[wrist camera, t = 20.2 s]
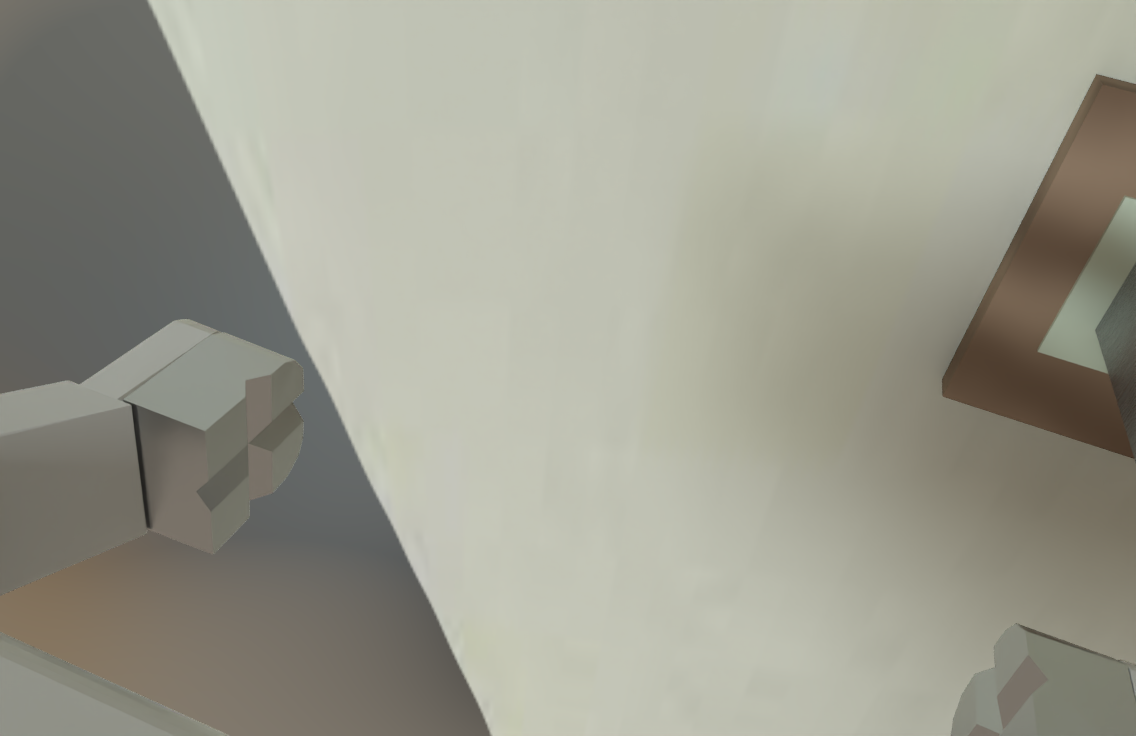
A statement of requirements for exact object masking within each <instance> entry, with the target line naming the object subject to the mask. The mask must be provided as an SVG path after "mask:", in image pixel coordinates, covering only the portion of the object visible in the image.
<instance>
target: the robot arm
mask: <svg viewBox="0 0 1136 736" xmlns="http://www.w3.org/2000/svg"><path fill="white" fill-rule="evenodd" d="M303 380H304V379H303V368H302V366H301V365H299V363H297V361H296V360H293V359H291V358H288V357H286V356H283V355H281V354H278V353H275V352H273V351H270V350H268V349H265V348H263V347H260V346H258V345H255V344H252V343H250V342H247V341H245V340H242V339H240V338H237V337H234V336H232V335H229V334H227V333H221V332H219V331H217V330H215V329H212V328H210V327H207V326H205V325H202V324H199V323H196V322H194V321H192V320H189V319H183V320H175V321H173V322H171V323H170V324H168V325H167V326H166V327H164V328H163V329H161V330H160V331H158V332H157V333H155V334H154V335H152V336H151V337H149V338H148V339H147V340H145V341H143V342H142V343H140V344H139V345H138V346H136V347H135V348H133V349H132V350H130V351H129V352H127V353H126V354H124V355H123V356H121V357H120V358H118V359H117V360H115V361H114V362H113V363H111V364H109V365H108V366H106V367H105V368H104V369H102V370H101V371H99V372H98V373H96V374H95V375H93V376H92V377H90V378H89V379H88V380H86V381H84V382H83V383H81V384H80V385H79V384H76V383H74V382H71V381H63V382H58V383H53V384H48V385H43V386H38V387H33V388H28V389H23V390H18V391H13V392H8V393H3V394H0V595H3V594H5V593H8V592H10V591H12V590H14V589H17V588H19V587H22V586H24V585H26V584H29V583H31V582H33V581H36V580H38V579H41V578H43V577H45V576H47V575H50V574H53V573H55V572H57V571H60V570H62V569H64V568H67V567H69V566H72V565H74V564H76V563H79V562H81V561H83V560H86V559H88V558H91V557H93V556H95V555H97V554H100V553H102V552H105V551H107V550H109V549H112V548H114V547H117V546H119V545H121V544H124V543H126V542H129V541H131V540H133V539H136V538H138V537H140V536H143V535H145V534H147V530H150V531H153V532H155V533H158V534H160V535H163V536H166V537H168V538H171V539H174V540H176V541H179V542H182V543H184V544H187V545H190V546H192V547H195V548H197V549H200V550H203V551H205V552H208V553H210V554H213V555H214V554H215V553H216V552H217V550H218V549H219V548H220V547H221V546H222V545H223V544H224V543H225V542H226V541H227V540H228V539H229V538H230V537H231V536H232V535H233V534H234V533H235V532H236V531H237V530H238V529H239V527H241V526H242V524H243V523H244V522H245V521H246V520H247V519H248V518H249V517H250V516H249V500H252V499H256V498H259V497H262V496H265V495H268V494H271V493H273V492H274V491H275V490H276V489H277V488H278V487H279V485H280V484H281V483H282V482H283V481H284V480H285V479H286V478H287V476H288V474H289V473H290V471H291V469H292V467H293V465H294V463H295V461H296V459H297V457H298V456H299V452H300V447H301V444H302V439H303V422H304V421H303V419H302V418H301V416H300V414H299V412H298V411H297V409H296V407H295V405H294V404H293V401H294V400H295V399H296V398H297V397H298V396H299V395H300V394H301V393H302V392H303V391H304V381H303ZM994 660H995V668H992V669H989V670H985V671H982V672H979V673H976V674H974V676H973V678H972V679H971V681H970V682H969V684H968V685H967V687H966V689H965V690H964V692H963V693H962V695H961V698H960V701H959V704H958V707H957V710H956V712H955V715H954V718H953V724H952V731H951V736H1136V665H1135V664H1132V663H1129V662H1126V661H1123V660H1116V659H1114V658H1112V657H1109V656H1106V655H1103V654H1100V653H1098V652H1095V651H1092V650H1089V649H1086V648H1084V647H1081V646H1078V645H1075V644H1072V643H1070V642H1067V641H1064V640H1061V639H1058V638H1056V637H1053V636H1050V635H1047V634H1044V633H1042V632H1039V631H1036V630H1033V629H1030V628H1028V627H1025V626H1022V625H1019V624H1017V623H1015V624H1014V625H1013V626H1011V627H1010V628H1008V629H1007V630H1005V632H1004V633H1003V634H1002V636H1001V637H1000V639H999V640H998V641H997V643H996V644H995V646H994ZM0 736H230V735H228V734H225V733H223V732H221V731H218V730H217V729H214V728H212V727H210V726H208V725H205V724H203V723H200V722H199V721H196V720H194V719H192V718H190V717H188V716H186V715H183V714H181V713H179V712H177V711H174V710H172V709H170V708H168V707H166V706H163V705H161V704H159V703H157V702H154V701H152V700H150V699H148V698H145V697H143V696H141V695H139V694H137V693H135V692H132V691H130V690H128V689H126V688H123V687H121V686H119V685H117V684H115V683H112V682H110V681H108V680H106V679H103V678H101V677H99V676H97V675H95V674H92V673H90V672H88V671H86V670H83V669H81V668H79V667H77V666H75V665H72V664H70V663H68V662H66V661H64V660H61V659H59V658H57V657H55V656H53V655H50V654H48V653H46V652H43V651H41V650H39V649H37V648H35V647H33V646H30V645H28V644H26V643H24V642H21V641H19V640H17V639H15V638H13V637H10V636H8V635H6V634H4V633H2V632H0Z"/></svg>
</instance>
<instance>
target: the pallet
mask: <svg viewBox="0 0 1136 736" xmlns="http://www.w3.org/2000/svg"><path fill="white" fill-rule="evenodd" d="M1135 263H1136V84H1132V83H1128V82H1124V81H1121V80H1117V79H1113V78H1109V77H1105V76H1101V75H1097V74H1096V76H1095V78H1094V80H1093V82H1092V84H1091V86H1090V88H1089V90H1088V92H1087V94H1086V96H1085V98H1084V100H1083V102H1082V104H1081V106H1080V108H1079V110H1078V112H1077V114H1076V116H1075V118H1074V120H1073V122H1072V124H1071V126H1070V128H1069V130H1068V132H1067V134H1066V136H1065V138H1064V140H1063V142H1062V143H1061V145H1060V147H1059V149H1058V151H1057V153H1056V155H1055V157H1054V159H1053V161H1052V163H1051V165H1050V167H1049V169H1048V171H1047V173H1046V175H1045V177H1044V179H1043V181H1042V183H1041V185H1040V187H1039V189H1038V191H1037V193H1036V195H1035V197H1034V199H1033V201H1032V203H1031V205H1030V207H1029V209H1028V211H1027V213H1026V215H1025V217H1024V219H1023V221H1022V222H1021V224H1020V226H1019V228H1018V230H1017V232H1016V234H1015V236H1014V238H1013V240H1012V242H1011V244H1010V246H1009V248H1008V250H1007V252H1006V254H1005V256H1004V258H1003V260H1002V262H1001V264H1000V266H999V268H998V270H997V272H996V274H995V276H994V278H993V280H992V282H991V284H990V286H989V288H988V290H987V292H986V294H985V296H984V298H983V300H982V302H981V303H980V305H979V307H978V309H977V311H976V313H975V315H974V317H973V319H972V321H971V323H970V325H969V327H968V329H967V331H966V333H965V335H964V337H963V339H962V341H961V343H960V345H959V347H958V349H957V351H956V353H955V355H954V357H953V359H952V361H951V363H950V365H949V367H948V369H947V371H946V373H945V375H944V377H943V379H942V393H943V397H946V398H949V399H952V400H955V401H958V402H961V403H964V404H968V405H971V406H974V407H977V408H980V409H983V410H986V411H989V412H992V413H995V414H998V415H1001V416H1004V417H1008V418H1011V419H1014V420H1017V421H1020V422H1023V423H1026V424H1029V425H1032V426H1035V427H1038V428H1041V429H1044V430H1048V431H1051V432H1054V433H1057V434H1060V435H1063V436H1066V437H1069V438H1072V439H1075V440H1078V441H1081V442H1084V443H1088V444H1091V445H1094V446H1097V447H1100V448H1103V449H1106V450H1109V451H1112V452H1115V453H1118V454H1121V455H1124V456H1128V457H1131V458H1134V456H1133V452H1132V449H1131V446H1130V443H1129V439H1128V436H1127V433H1126V430H1125V426H1124V423H1123V420H1122V416H1121V413H1120V410H1119V407H1118V403H1117V400H1116V397H1115V394H1114V390H1113V387H1112V384H1111V381H1110V377H1109V374H1108V371H1107V368H1106V364H1105V361H1104V358H1103V354H1102V351H1101V348H1100V345H1099V341H1098V338H1097V335H1096V332H1095V329H1096V327H1097V326H1098V324H1099V322H1100V321H1101V319H1102V318H1103V316H1104V314H1105V313H1106V311H1107V309H1108V308H1109V306H1110V304H1111V303H1112V301H1113V299H1114V298H1115V296H1116V294H1117V293H1118V291H1119V289H1120V288H1121V286H1122V284H1123V283H1124V281H1125V279H1126V278H1127V276H1128V274H1129V273H1130V271H1131V269H1132V268H1133V266H1134V264H1135Z"/></svg>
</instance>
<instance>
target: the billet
mask: <svg viewBox="0 0 1136 736" xmlns="http://www.w3.org/2000/svg"><path fill="white" fill-rule="evenodd" d="M1095 332H1096V335H1097V338H1098V341H1099V345H1100V348H1101V351H1102V354H1103V358H1104V361H1105V364H1106V368H1107V371H1108V374H1109V377H1110V381H1111V384H1112V387H1113V390H1114V394H1115V397H1116V400H1117V403H1118V407H1119V410H1120V413H1121V416H1122V420H1123V423H1124V426H1125V430H1126V433H1127V436H1128V439H1129V443H1130V446H1131V449H1132V452H1133V456H1134V459H1135V462H1136V263H1135V264H1134V266H1133V268H1132V269H1131V271H1130V273H1129V274H1128V276H1127V278H1126V279H1125V281H1124V283H1123V284H1122V286H1121V288H1120V289H1119V291H1118V293H1117V294H1116V296H1115V298H1114V299H1113V301H1112V303H1111V304H1110V306H1109V308H1108V309H1107V311H1106V313H1105V314H1104V316H1103V318H1102V319H1101V321H1100V322H1099V324H1098V326H1097V327H1096V329H1095Z"/></svg>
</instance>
